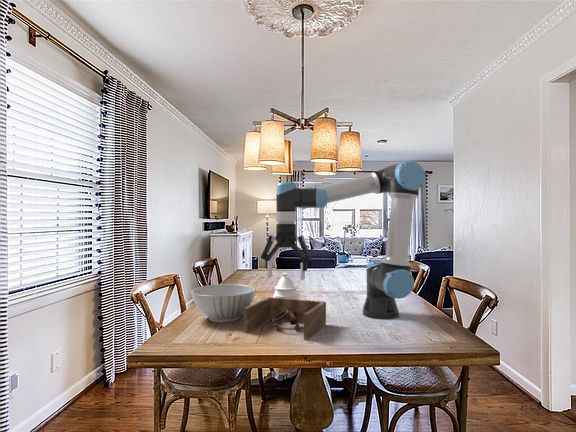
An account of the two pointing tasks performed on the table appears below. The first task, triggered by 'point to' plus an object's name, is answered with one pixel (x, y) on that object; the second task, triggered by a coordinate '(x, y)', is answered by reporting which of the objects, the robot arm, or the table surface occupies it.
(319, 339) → the table surface
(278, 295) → the honey pot
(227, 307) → the decorative bowl
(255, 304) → the walnut u-shaped frame
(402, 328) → the table surface
